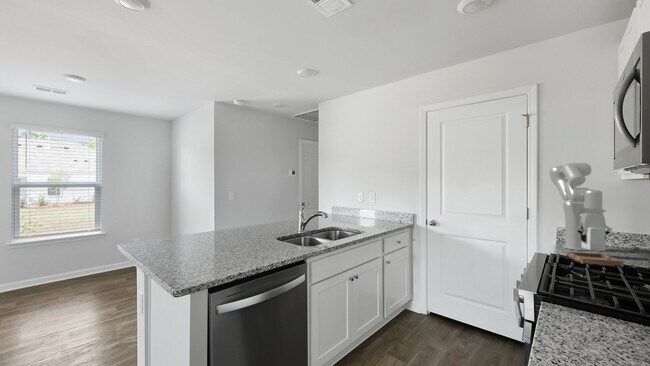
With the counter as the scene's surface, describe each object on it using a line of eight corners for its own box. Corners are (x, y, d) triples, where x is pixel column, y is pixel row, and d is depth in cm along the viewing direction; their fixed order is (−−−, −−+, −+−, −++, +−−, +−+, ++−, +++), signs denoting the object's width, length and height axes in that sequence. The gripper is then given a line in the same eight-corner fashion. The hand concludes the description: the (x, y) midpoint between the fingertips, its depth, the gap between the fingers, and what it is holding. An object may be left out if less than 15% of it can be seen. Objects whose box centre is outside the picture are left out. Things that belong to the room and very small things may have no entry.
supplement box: (605, 251, 158) (605, 228, 158) (589, 250, 159) (590, 228, 159) (595, 247, 165) (595, 226, 165) (580, 247, 167) (581, 225, 166)
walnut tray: (566, 256, 161) (566, 251, 161) (602, 258, 155) (602, 253, 155) (582, 263, 144) (582, 258, 144) (623, 266, 138) (623, 261, 138)
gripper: (608, 211, 162) (608, 241, 163) (571, 210, 168) (571, 239, 169) (616, 212, 155) (616, 244, 156) (577, 211, 161) (577, 242, 162)
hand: (592, 242), depth 162 cm, fingers closed on supplement box, 8 cm apart
